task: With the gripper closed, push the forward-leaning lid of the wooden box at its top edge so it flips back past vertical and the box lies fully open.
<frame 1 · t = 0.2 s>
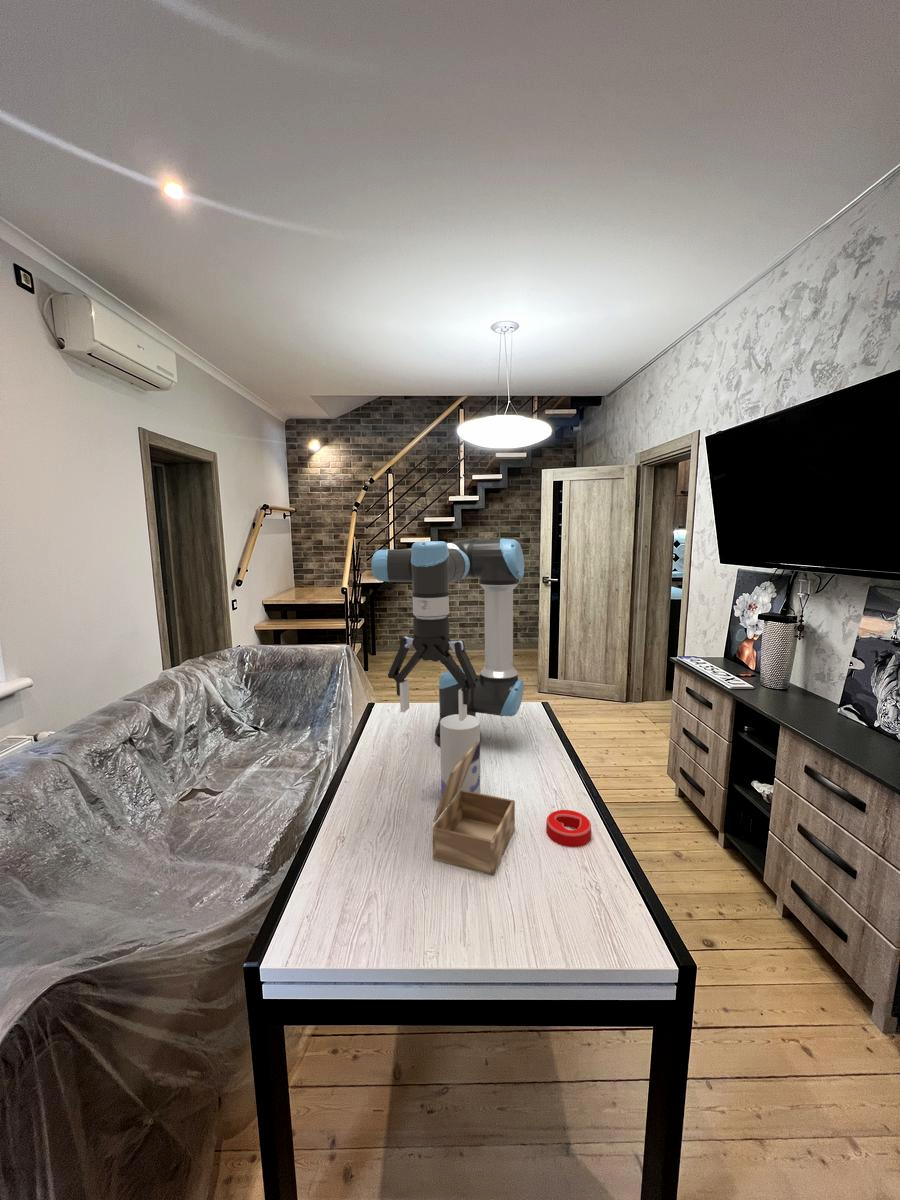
hand: (433, 714, 103), 28 cm above the table, fingers open, 13 cm apart
container: (460, 796, 124), on the table
lid: (456, 779, 104), point 14 cm above the table, hinge at 70.0°
wooden box: (475, 843, 104), on the table
decorative ornament: (568, 835, 108), on the table
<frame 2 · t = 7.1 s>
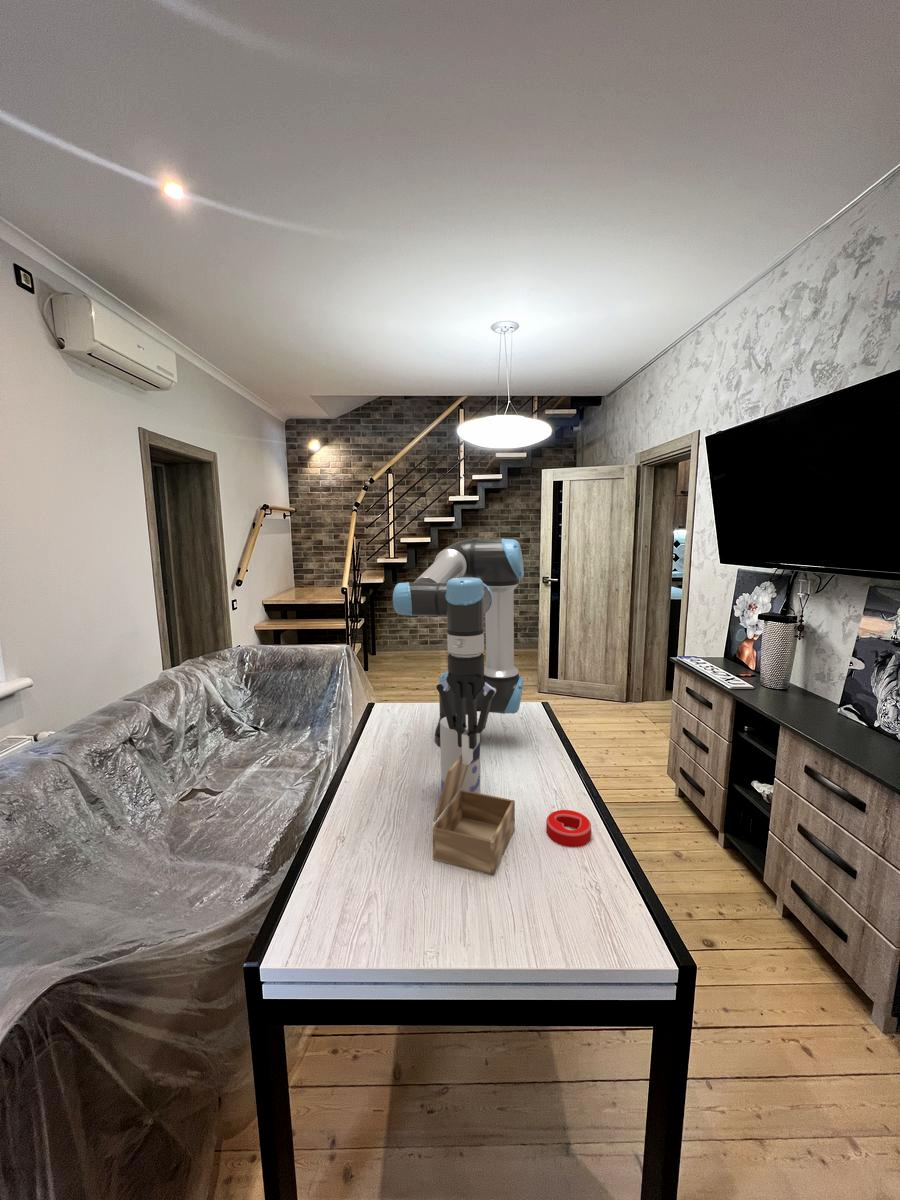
hand: (467, 761, 102), 18 cm above the table, fingers closed
lid: (455, 778, 104), point 14 cm above the table, hinge at 72.8°, touching gripper
everything else where it was.
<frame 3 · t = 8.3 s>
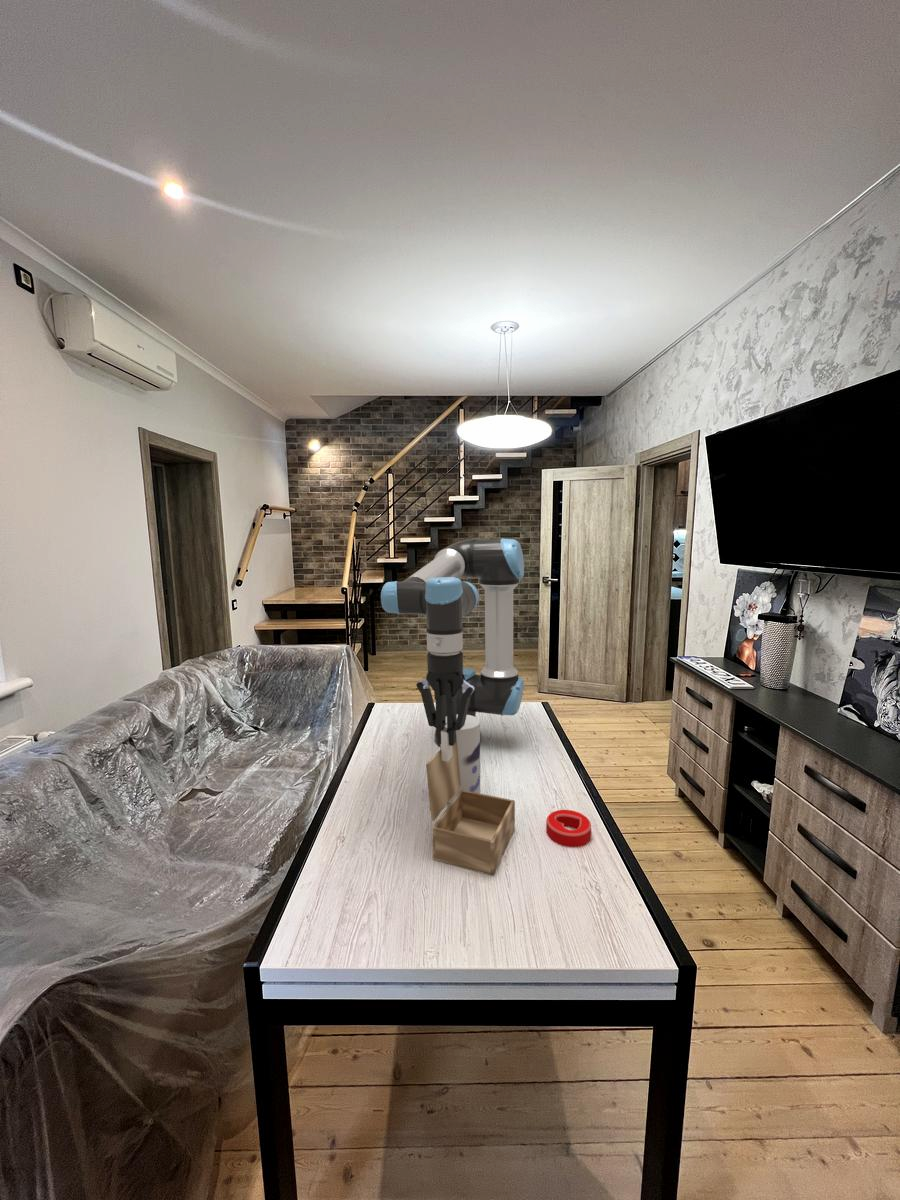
hand: (447, 758, 104), 18 cm above the table, fingers closed
lid: (444, 775, 105), point 14 cm above the table, hinge at 94.4°, touching gripper
everything else where it was.
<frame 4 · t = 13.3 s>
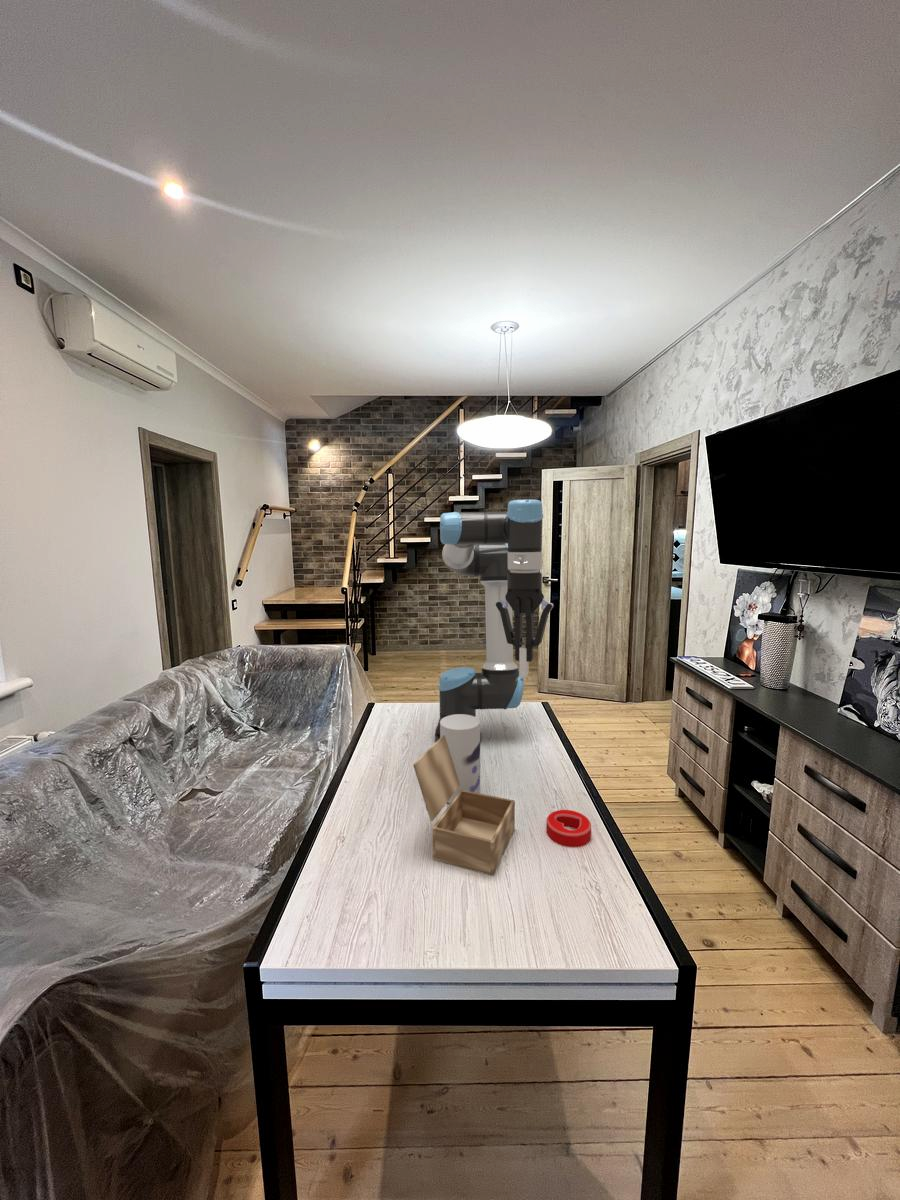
hand: (524, 674, 110), 34 cm above the table, fingers closed
lid: (437, 775, 106), point 14 cm above the table, hinge at 107.6°
everything else where it was.
at the end: lid at +108° (first picture: +70°) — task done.
